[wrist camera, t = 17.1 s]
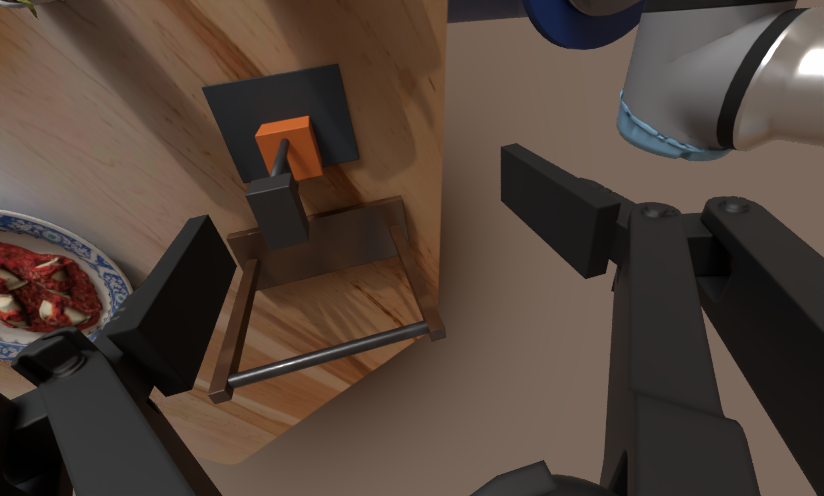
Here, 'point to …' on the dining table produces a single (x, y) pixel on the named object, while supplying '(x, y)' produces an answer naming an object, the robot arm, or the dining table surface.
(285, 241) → the orange block with hook
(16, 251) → the ceramic plate
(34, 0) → the house plant
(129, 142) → the dining table surface
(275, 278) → the rack
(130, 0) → the dining table surface
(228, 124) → the mat
